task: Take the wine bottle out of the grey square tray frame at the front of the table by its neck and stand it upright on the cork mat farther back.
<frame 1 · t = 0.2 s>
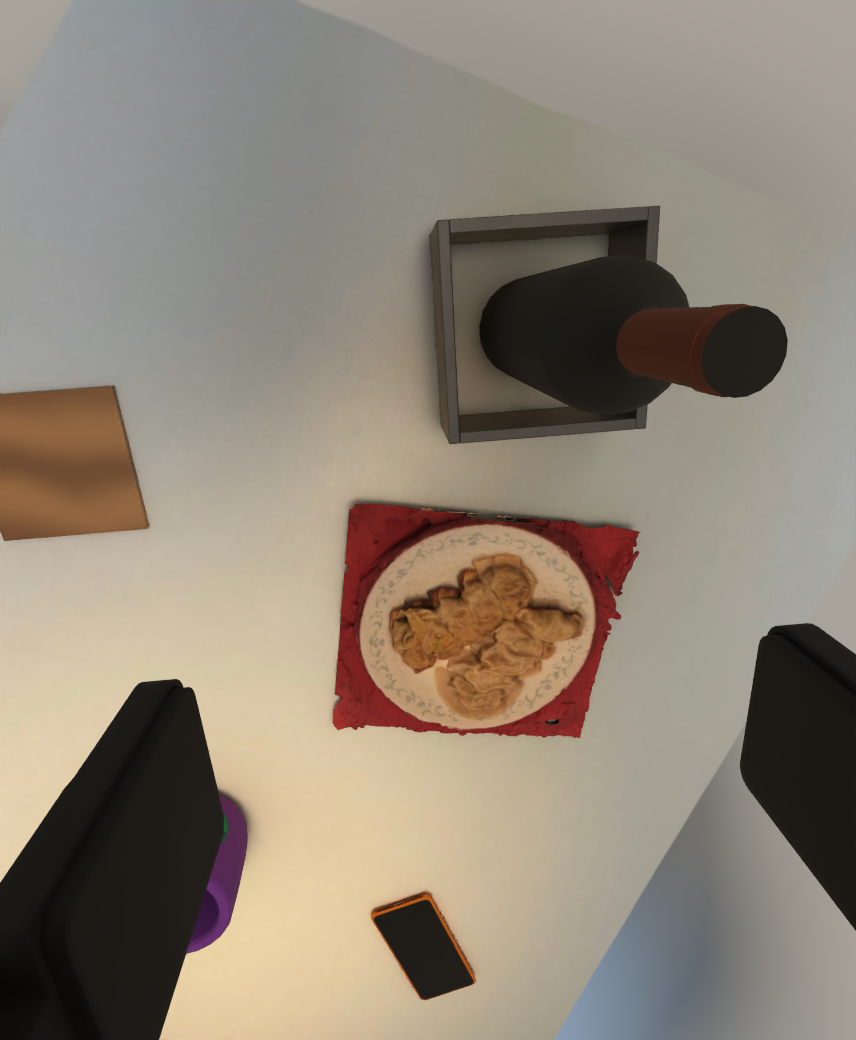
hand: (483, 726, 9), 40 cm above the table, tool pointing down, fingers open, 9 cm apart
mug: (172, 813, 61), on the table
grey square tray frame: (526, 328, 46), on the table
smartphone: (424, 943, 70), on the table
plate with food: (476, 627, 55), on the table
wine bottle: (525, 328, 46), resting in grey square tray frame
cork mat: (58, 465, 47), on the table
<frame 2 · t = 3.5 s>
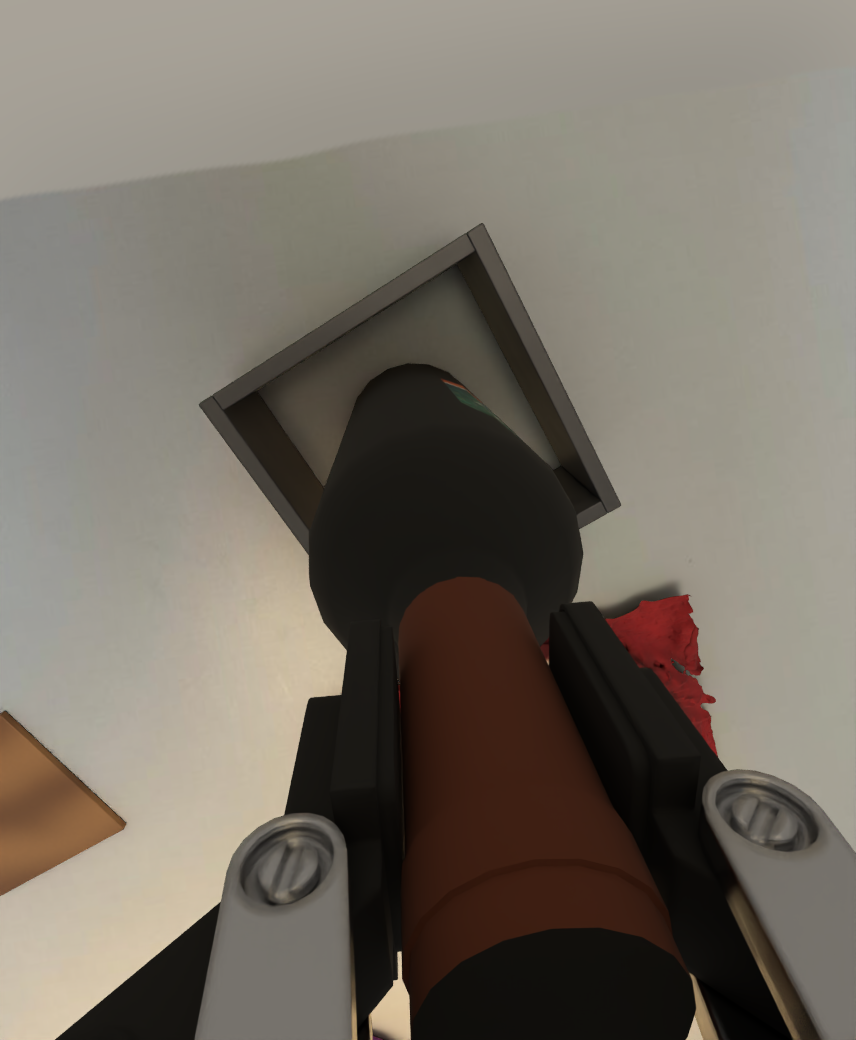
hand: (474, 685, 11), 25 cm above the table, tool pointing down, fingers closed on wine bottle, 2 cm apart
grey square tray frame: (415, 429, 34), on the table
plate with food: (542, 769, 43), on the table
wine bottle: (414, 429, 34), resting in grey square tray frame, touching gripper
cork mat: (2, 807, 41), on the table
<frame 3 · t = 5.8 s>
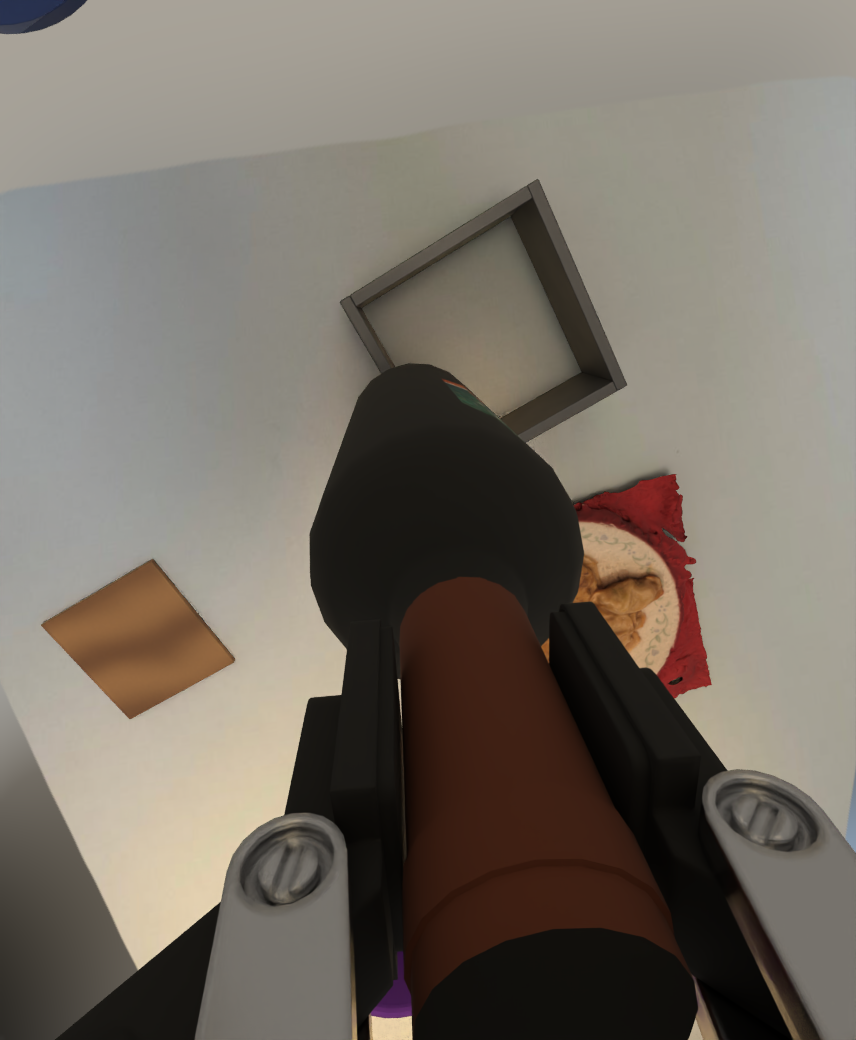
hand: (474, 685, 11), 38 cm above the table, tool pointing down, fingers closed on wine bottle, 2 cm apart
mug: (369, 886, 65), on the table
grey square tray frame: (474, 340, 46), on the table
plate with food: (560, 624, 55), on the table
wine bottle: (415, 429, 34), point 14 cm above the table, touching gripper
cork mat: (141, 641, 53), on the table
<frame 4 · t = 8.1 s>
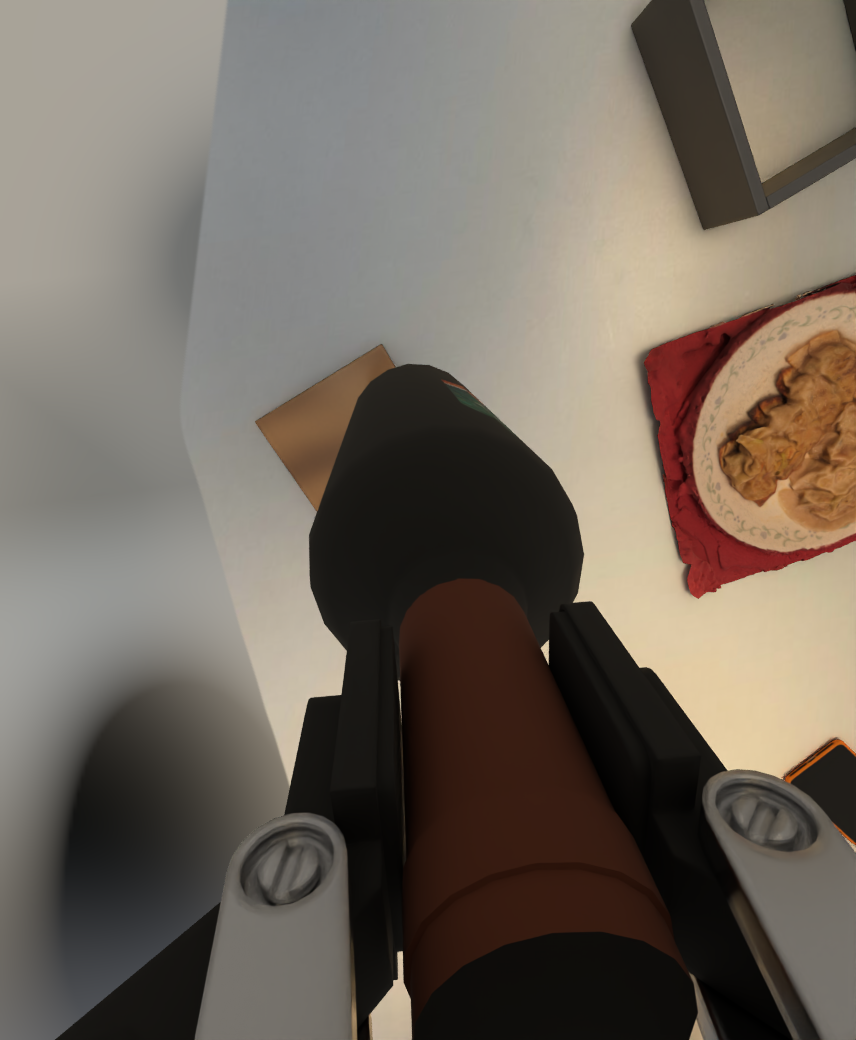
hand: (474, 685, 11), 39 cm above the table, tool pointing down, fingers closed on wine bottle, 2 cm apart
grey square tray frame: (762, 75, 41), on the table
smartphone: (847, 793, 65), on the table
plate with food: (803, 433, 50), on the table
wine bottle: (415, 429, 34), point 14 cm above the table, touching gripper
cork mat: (358, 446, 48), on the table
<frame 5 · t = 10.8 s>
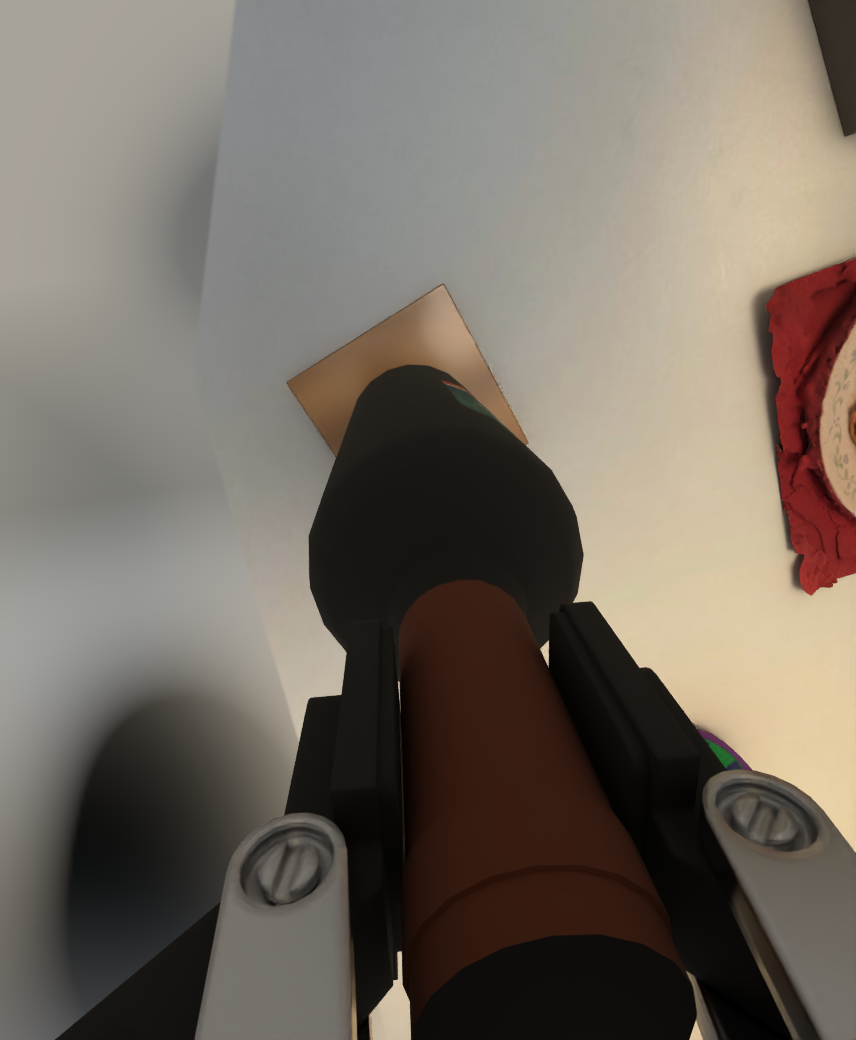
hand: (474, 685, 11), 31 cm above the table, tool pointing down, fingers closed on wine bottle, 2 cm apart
mug: (637, 769, 52), on the table
wine bottle: (414, 430, 34), point 6 cm above the table, touching gripper
cork mat: (411, 412, 39), on the table
when the fingers open (25 cm above the table, at t = 12.7 s): wine bottle stays where it is, resting on cork mat.
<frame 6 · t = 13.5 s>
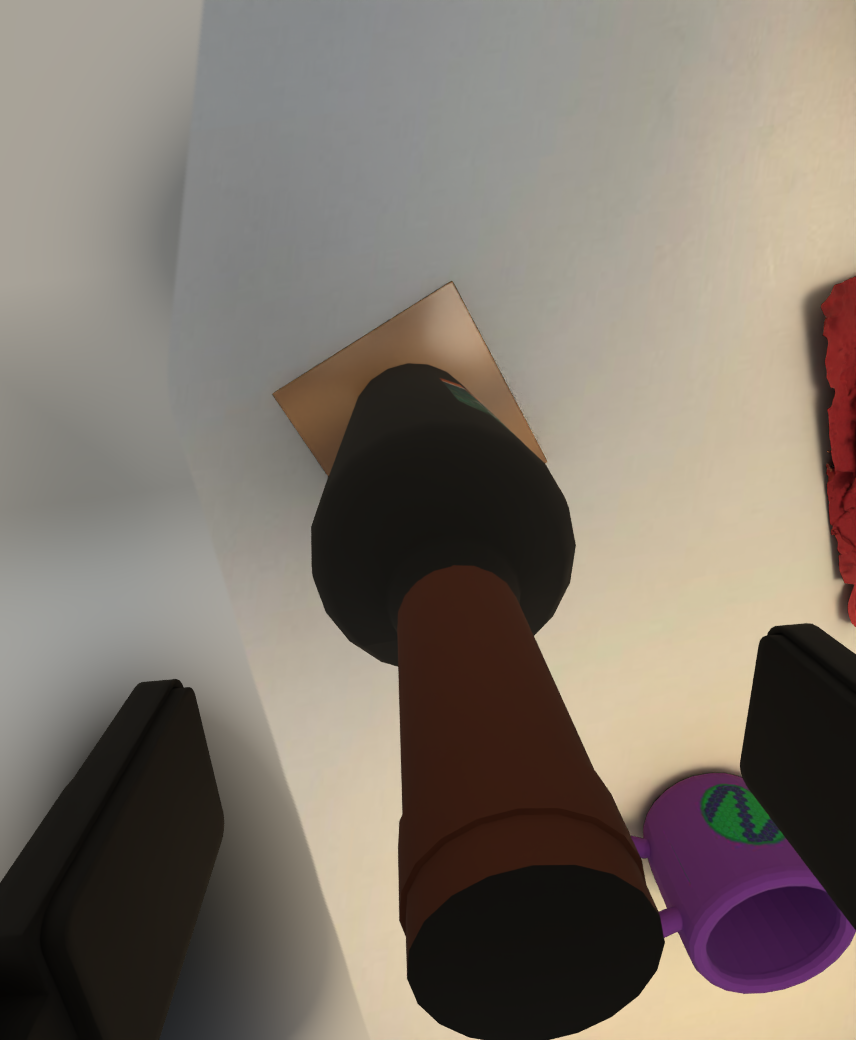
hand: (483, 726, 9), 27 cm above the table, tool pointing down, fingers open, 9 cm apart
mug: (662, 816, 47), on the table
wine bottle: (414, 427, 34), resting on cork mat
cork mat: (414, 427, 35), on the table
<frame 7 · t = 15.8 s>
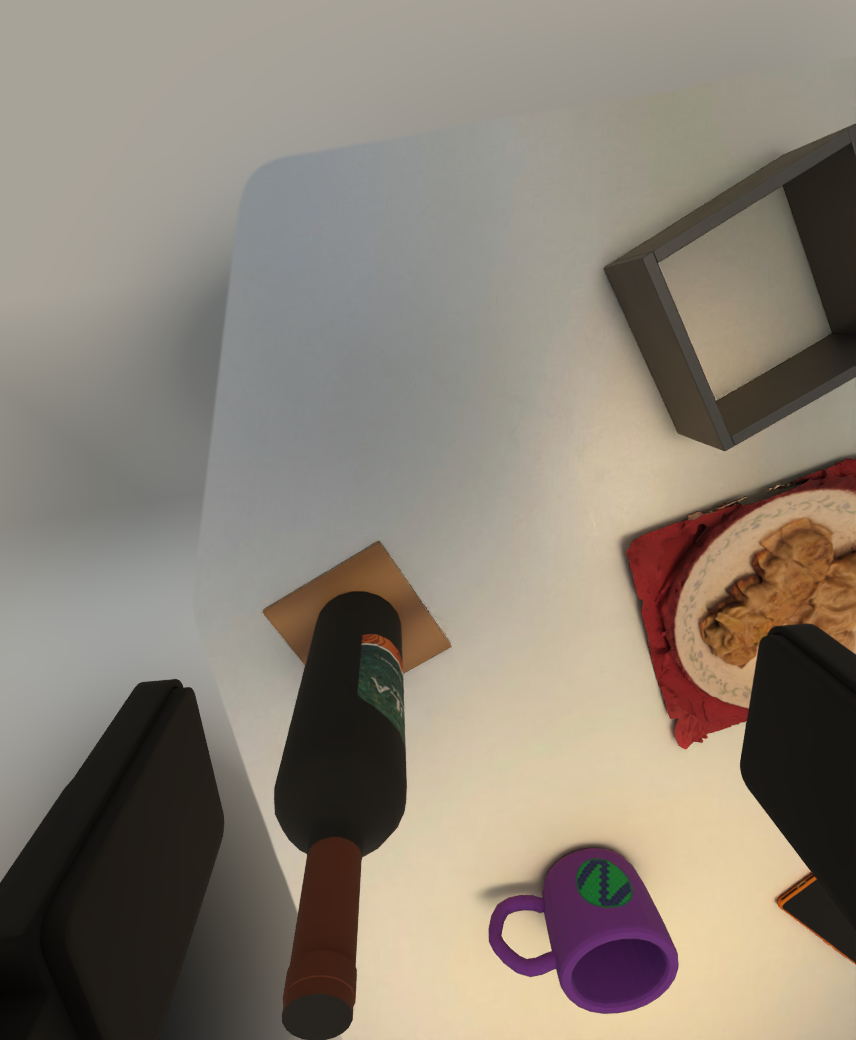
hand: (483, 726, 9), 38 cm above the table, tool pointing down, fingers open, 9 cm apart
mug: (559, 878, 63), on the table
grey square tray frame: (727, 303, 44), on the table
smartphone: (839, 911, 67), on the table
plate with food: (781, 600, 53), on the table
wine bottle: (358, 628, 51), resting on cork mat
cork mat: (359, 627, 51), on the table
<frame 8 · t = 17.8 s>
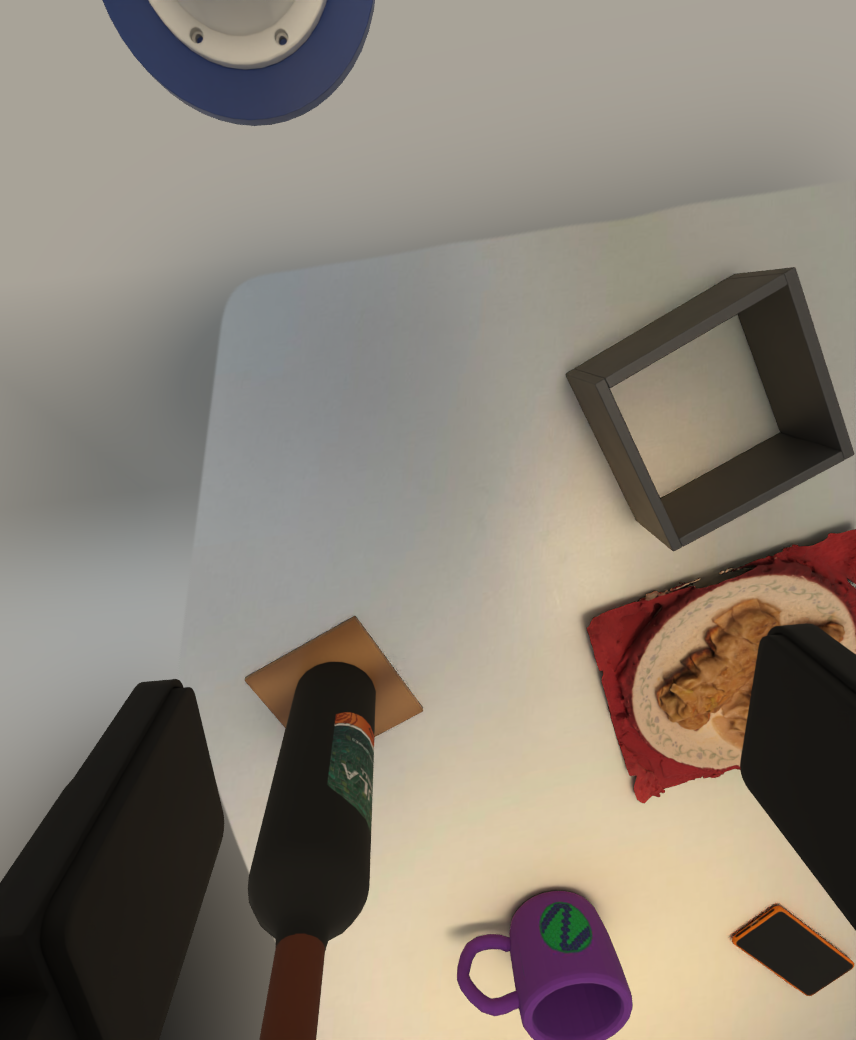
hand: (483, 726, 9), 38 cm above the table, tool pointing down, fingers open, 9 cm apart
mug: (525, 917, 67), on the table
grey square tray frame: (682, 405, 47), on the table
smartphone: (790, 947, 71), on the table
plate with food: (733, 668, 57), on the table
wine bottle: (335, 694, 54), resting on cork mat
cork mat: (336, 692, 54), on the table
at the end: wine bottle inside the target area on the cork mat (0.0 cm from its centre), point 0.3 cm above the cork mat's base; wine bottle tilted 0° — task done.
